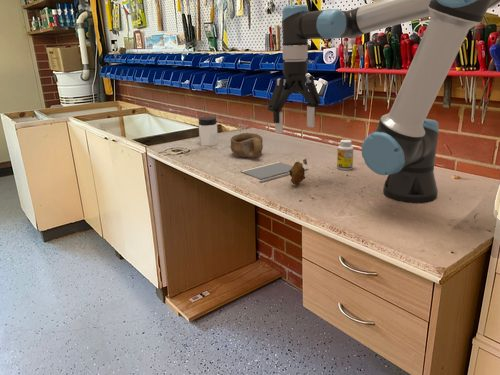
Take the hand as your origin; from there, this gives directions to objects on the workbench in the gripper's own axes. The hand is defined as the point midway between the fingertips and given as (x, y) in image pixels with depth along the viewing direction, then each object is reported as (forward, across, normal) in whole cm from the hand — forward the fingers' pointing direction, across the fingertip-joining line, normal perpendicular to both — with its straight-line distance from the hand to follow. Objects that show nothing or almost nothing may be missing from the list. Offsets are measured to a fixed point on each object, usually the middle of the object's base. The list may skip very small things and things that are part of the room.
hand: (295, 130), depth 135 cm
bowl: (+17, -9, -37) cm, 42 cm away
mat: (+17, -2, -16) cm, 23 cm away
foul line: (+17, -2, -8) cm, 19 cm away
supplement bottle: (+18, -24, 0) cm, 30 cm away
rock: (+18, +1, +2) cm, 18 cm away
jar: (+17, -7, -67) cm, 69 cm away
